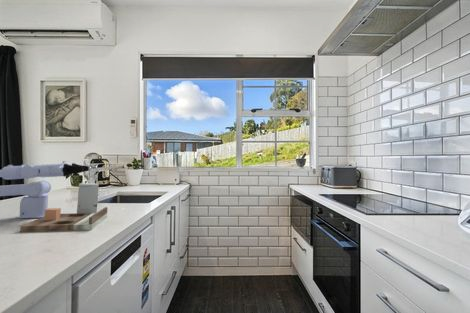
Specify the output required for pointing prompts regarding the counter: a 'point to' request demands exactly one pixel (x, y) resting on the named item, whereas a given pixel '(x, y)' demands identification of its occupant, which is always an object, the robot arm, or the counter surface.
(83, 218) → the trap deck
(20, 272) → the counter surface
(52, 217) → the terracotta block
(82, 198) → the skincare box
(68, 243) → the counter surface
